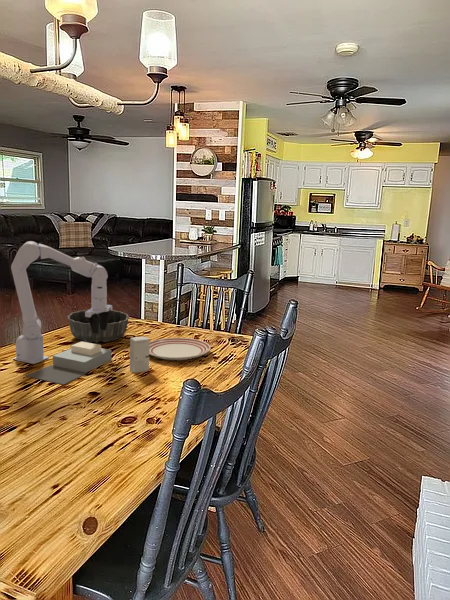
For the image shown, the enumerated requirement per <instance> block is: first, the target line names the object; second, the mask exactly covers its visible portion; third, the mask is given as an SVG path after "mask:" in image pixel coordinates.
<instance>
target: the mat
mask: <svg viewBox="0 0 450 600" xmlns="http://www.w3.org/2000/svg"><path fill="white" fill-rule="evenodd" d="M87 374H88V372H81V371H76V370H72V369H67V368H62V367H58V366H53V364H51V365H47V366H46V367H43V368H41V369H37V370H35V371H33V372H31V373H29V374H26V375H25V377H27V378H30V379H35V380H40V381H43V382H44V381H45V382H47V383H52V384H53V383H54V384H57V385H62V386H65V385H66V384H68V383H71V382H73V381H74V380H77V379H78V378H82V377H83V376H85V375H87Z"/></svg>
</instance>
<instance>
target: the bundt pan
mask: <svg viewBox="0 0 450 600" xmlns="http://www.w3.org/2000/svg"><path fill="white" fill-rule="evenodd" d="M88 310H89V309H85V310H78V311H74V312H71V313H70V314H68V315H66V317H67V320H68V323H69V325H68V326H69V331H70V332H71V334H72V336H73V337H74V338H75V339H77V340H79V342H81V341H82V342H87V343H92V342H94V343H95V344H99V342H101V343H107V342H115V341H116V340H118V339H121V338H122V337H123V336H124V335H125V334H126V332H127V328H128V323H129V319H130V318H131V317H130V316H129V315H128V314H127V313H125V312H122V311H118V310H114V309H112V310H109V312H112V315H111V316H110V318H109V320H108V324H107V327H106V330H101V329H100V322H99V331H98V333H93V332H92V328H91V325H90V323H89V321H88V319H87V318H86V317H85V312H86V311H88ZM97 315H98V314H97Z"/></svg>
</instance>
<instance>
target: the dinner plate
mask: <svg viewBox="0 0 450 600" xmlns="http://www.w3.org/2000/svg"><path fill="white" fill-rule="evenodd" d="M210 351H211V345H210V344H209V343H208V342H206V341H203V340H200V339H196V338H195V339H194V338H189V337H167V338H159V339H155V340H151V341H150V345H149V356H152V357H156V358H159V359H161V360H166V361H174V360H177V361H178V362H179V361H188V359H189V360H191V359H192V358H193V359H197V358H199V357H201V356H204V355H206V354H207V353H209V352H210ZM193 359H192V360H193Z"/></svg>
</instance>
